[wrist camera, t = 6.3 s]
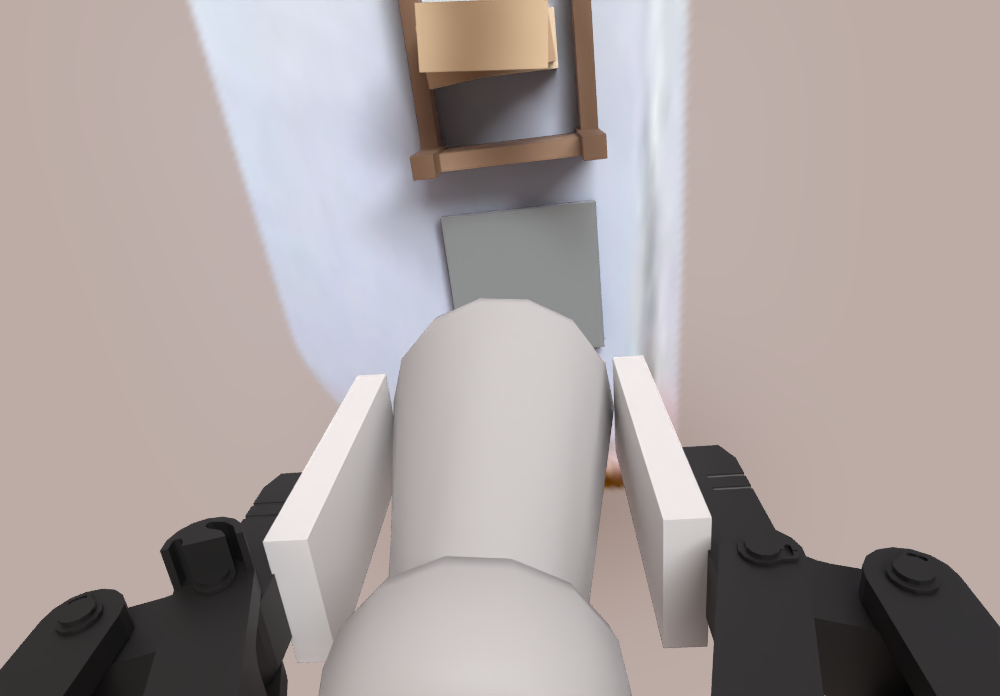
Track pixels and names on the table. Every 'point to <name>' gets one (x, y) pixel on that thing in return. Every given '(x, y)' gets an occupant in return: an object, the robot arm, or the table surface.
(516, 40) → the offcut
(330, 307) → the table surface
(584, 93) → the open rectangular wooden frame
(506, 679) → the salt shaker
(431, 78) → the offcut
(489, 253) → the coaster
